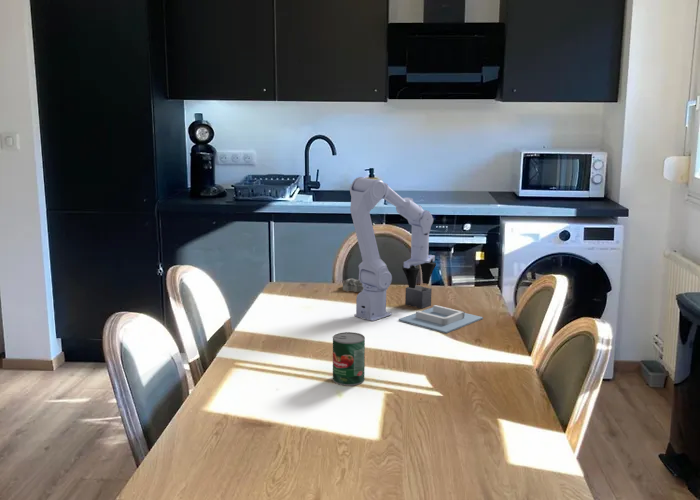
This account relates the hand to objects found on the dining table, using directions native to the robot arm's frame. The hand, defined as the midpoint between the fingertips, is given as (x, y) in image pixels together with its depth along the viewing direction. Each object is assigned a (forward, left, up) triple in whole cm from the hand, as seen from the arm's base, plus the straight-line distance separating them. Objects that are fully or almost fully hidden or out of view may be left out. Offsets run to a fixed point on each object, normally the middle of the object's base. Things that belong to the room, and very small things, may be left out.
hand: (418, 285), depth 241 cm
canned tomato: (-64, -27, -7) cm, 70 cm away
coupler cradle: (-8, -14, -7) cm, 18 cm away
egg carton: (+1, +28, -7) cm, 29 cm away
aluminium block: (0, 0, -7) cm, 7 cm away
